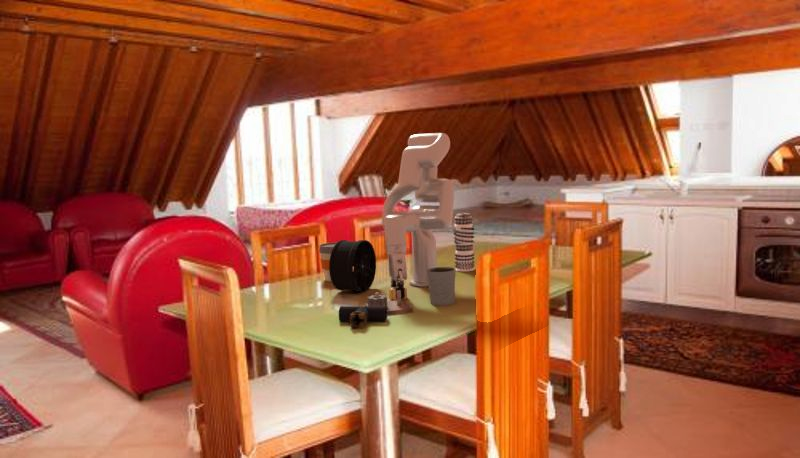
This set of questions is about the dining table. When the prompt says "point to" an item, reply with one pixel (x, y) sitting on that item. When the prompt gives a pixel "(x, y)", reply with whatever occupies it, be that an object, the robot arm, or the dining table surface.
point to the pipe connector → (362, 315)
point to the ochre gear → (393, 293)
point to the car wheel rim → (352, 265)
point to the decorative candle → (464, 242)
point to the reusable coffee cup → (326, 258)
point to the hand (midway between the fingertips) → (398, 296)
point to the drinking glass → (441, 285)
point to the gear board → (390, 303)
